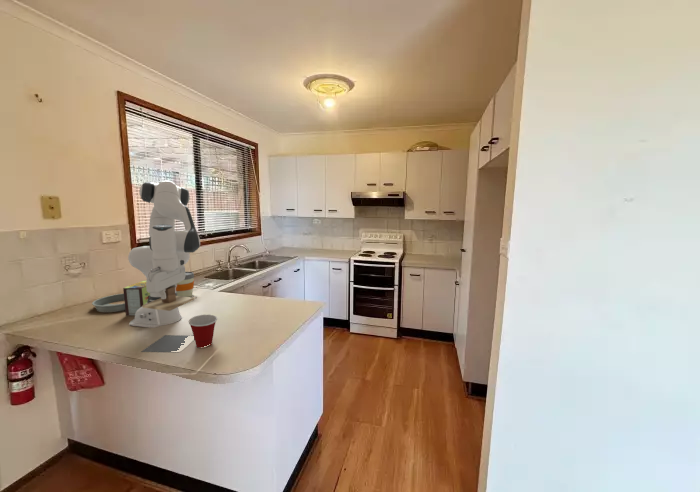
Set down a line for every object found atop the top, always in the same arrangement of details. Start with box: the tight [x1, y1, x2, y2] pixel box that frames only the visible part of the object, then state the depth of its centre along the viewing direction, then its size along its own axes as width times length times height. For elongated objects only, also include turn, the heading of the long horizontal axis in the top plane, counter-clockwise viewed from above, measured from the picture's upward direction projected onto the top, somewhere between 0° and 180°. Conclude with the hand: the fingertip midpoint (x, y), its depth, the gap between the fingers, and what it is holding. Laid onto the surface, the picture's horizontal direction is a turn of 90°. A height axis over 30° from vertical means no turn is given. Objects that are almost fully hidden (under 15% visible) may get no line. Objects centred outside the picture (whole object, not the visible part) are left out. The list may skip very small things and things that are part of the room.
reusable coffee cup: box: [176, 271, 195, 297], centre depth 186 cm, size 13×13×15 cm
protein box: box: [122, 280, 150, 317], centre depth 160 cm, size 10×15×16 cm
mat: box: [140, 334, 189, 353], centre depth 123 cm, size 16×15×1 cm
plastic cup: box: [188, 314, 218, 348], centre depth 121 cm, size 11×11×12 cm
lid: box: [142, 286, 195, 311], centre depth 120 cm, size 13×13×7 cm
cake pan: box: [91, 292, 126, 313], centre depth 169 cm, size 25×25×4 cm
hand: (168, 296), depth 120 cm, fingers closed on lid, 4 cm apart
